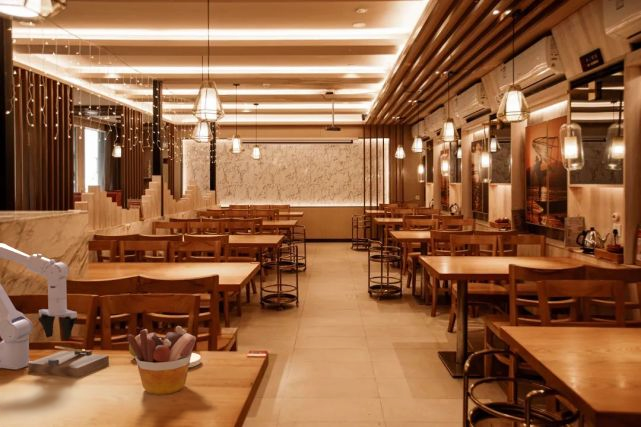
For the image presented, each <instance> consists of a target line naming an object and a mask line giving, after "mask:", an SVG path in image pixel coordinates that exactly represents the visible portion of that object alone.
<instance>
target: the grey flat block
mask: <svg viewBox="0 0 641 427" xmlns="http://www.w3.org/2000/svg"><path fill="white" fill-rule="evenodd" d="M78 350H81V349H78ZM109 357H110V355H109V354H108V355H107V354H106V355H105V354H97V353H92V350H91V349H90V350H86V353H79V352H76V351H70V350H61V351H58V352H55V353H53V354H49V355H47V356H43V357H40V358H38V359H35V360H31V361H32V362H29V363H28V366H27V368H28V373H37V374H44V375H52V376H53V375H54V376H58V377H59V376H60V377H69V378H75V379H76V378H79V377H82V376H84V375H86V374H89V373H91V372H93V371H96V370H99V369H101V368H104V367H106V366H107V365H109V364H110V360H109V359H110V358H109Z"/></svg>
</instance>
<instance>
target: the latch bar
mask: <svg viewBox="0 0 641 427" xmlns="http://www.w3.org/2000/svg"><path fill="white" fill-rule="evenodd" d="M54 349H60V350H63V351H69V352H74V351H76V352H79V353H86V351H87V350H85V349H80V350H78V349H77V348H72V347H65V346H59V345H55V346H54Z"/></svg>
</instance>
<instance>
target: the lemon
mask: <svg viewBox="0 0 641 427" xmlns="http://www.w3.org/2000/svg"><path fill="white" fill-rule="evenodd" d="M137 336H138V335H136V336H134V337H135V339H136V337H137ZM136 341H137V339H136ZM128 351H129V354H130V355H131V356H133V357H135V356H136V354H135V353H134V351H133V349H132V347H131V345H130V344H129V345H128Z"/></svg>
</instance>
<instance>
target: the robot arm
mask: <svg viewBox="0 0 641 427" xmlns="http://www.w3.org/2000/svg"><path fill="white" fill-rule="evenodd" d="M3 258H4V259H6V260H10V261H12V262H16V263H19V264H22V265H25V268H26V269H27V270H28V271H31V272H33V273H35V274H37V275H41V276H43V277H44V278H45V279H46V282H47V300H48V301H47V302H48V303H47V304H48V309H47V308H46V309H45V308H42V309H39V310H38V316H39V317H38V322H40V324H41V326H42V328H43V331H44V334H45V337H46V338H51V337H53V335H54V322H55V318H56V317H57V318H58V317H59V318H61V319H59V321H60V324H61V327H62V331H63V332H62V335H63V339H64V340H67V339H71V336H72V335H71V334H72V331H73V329H74V326H75V323H76V322H77V320H78V312H77V311H73V310H70V309H68V301H67V300H68V299H67V298H68V297H67V277H68V276H69V274H70V267H69V265H68V264H67V263H65V262H64V261H58V262H56V260H55V259H50V258H46V257H44V256H43V254H42V253H33V254H31V255H29V254H27V253H25V252H24V251H23V252H22V251H20V250H18V249H15V248H13V247H11V246H9V245H7V244H6V243H2V242H0V260H1V259H3ZM33 325H34V324H33V323H32V321H31V320H30V319H29V318H27V317H26V316H25V314H24V313H23V312H21V311H19V310H17V309H16V307H15V306H14V304H13V303H12V301H11V298H9V296H8V294H7V292H6V291H5V288H4V287H3V286H2V284H1V283H0V338H1V339H2V340H1V341H0V369H7V370H20V369H22V368H25V367H28V363H29V362H32V361H33V360H31V361H30V345H29V344H30V340H29V339H30V334H31V333H32V331H33V327H34V326H33Z"/></svg>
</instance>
